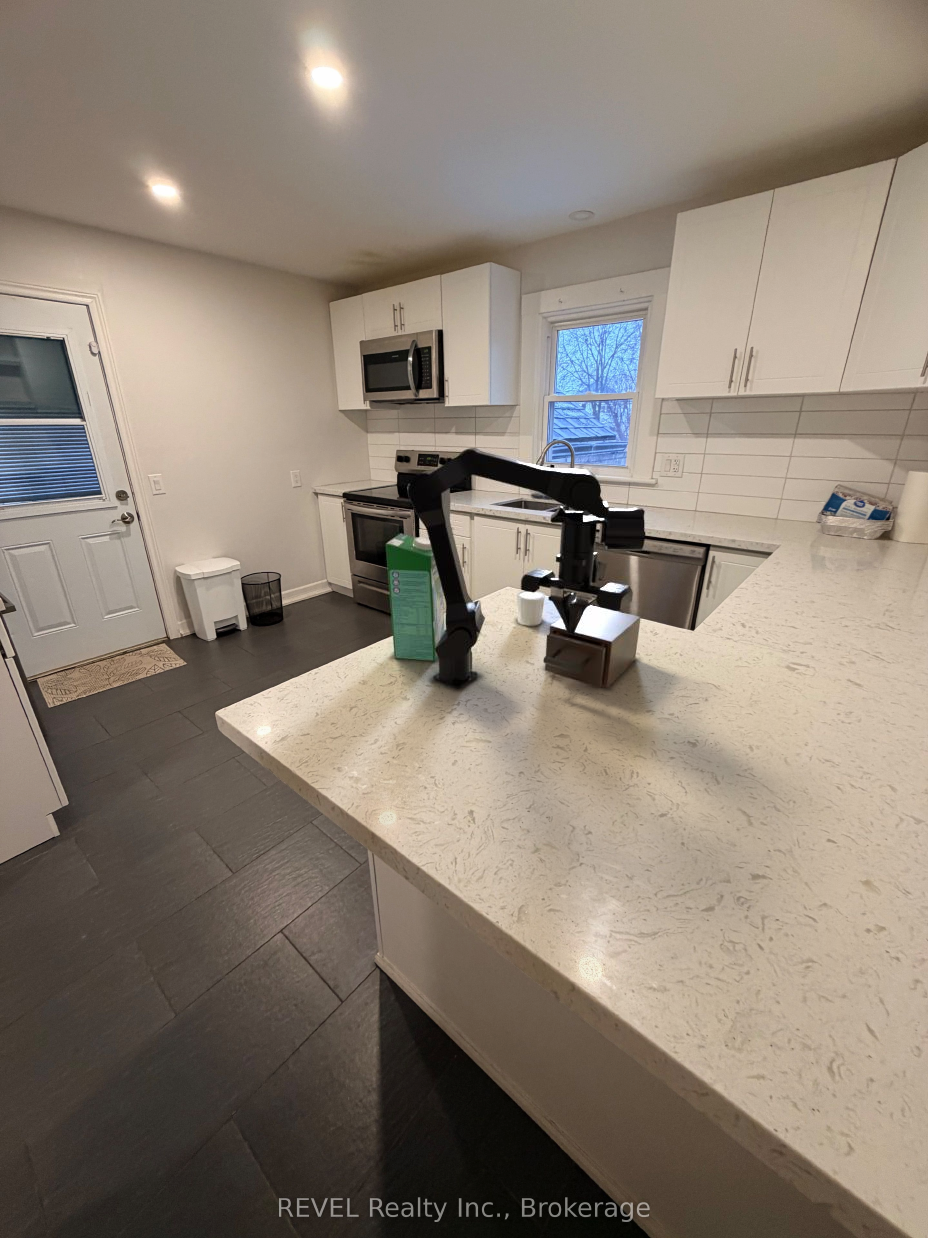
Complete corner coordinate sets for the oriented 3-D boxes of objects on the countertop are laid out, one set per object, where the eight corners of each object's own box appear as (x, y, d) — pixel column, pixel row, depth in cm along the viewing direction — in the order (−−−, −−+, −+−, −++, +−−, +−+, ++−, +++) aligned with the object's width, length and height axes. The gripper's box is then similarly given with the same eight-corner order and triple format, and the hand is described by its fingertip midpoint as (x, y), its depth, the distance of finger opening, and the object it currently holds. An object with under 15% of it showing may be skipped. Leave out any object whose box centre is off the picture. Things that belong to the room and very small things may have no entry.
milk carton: (435, 661, 104) (430, 544, 94) (394, 657, 105) (385, 542, 96) (445, 643, 112) (441, 533, 102) (407, 640, 113) (399, 532, 104)
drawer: (587, 699, 87) (591, 660, 84) (532, 680, 94) (533, 643, 91) (627, 660, 101) (631, 625, 98) (575, 646, 107) (578, 612, 104)
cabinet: (606, 688, 92) (612, 641, 89) (547, 669, 100) (549, 625, 96) (635, 659, 103) (640, 616, 99) (579, 643, 110) (582, 603, 106)
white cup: (542, 616, 125) (544, 590, 123) (544, 627, 119) (545, 599, 116) (515, 615, 126) (516, 589, 123) (515, 626, 120) (516, 599, 117)
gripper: (649, 546, 84) (638, 630, 90) (551, 532, 94) (547, 608, 100) (624, 561, 75) (614, 653, 81) (520, 544, 86) (518, 626, 92)
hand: (571, 633), depth 89 cm, fingers closed
